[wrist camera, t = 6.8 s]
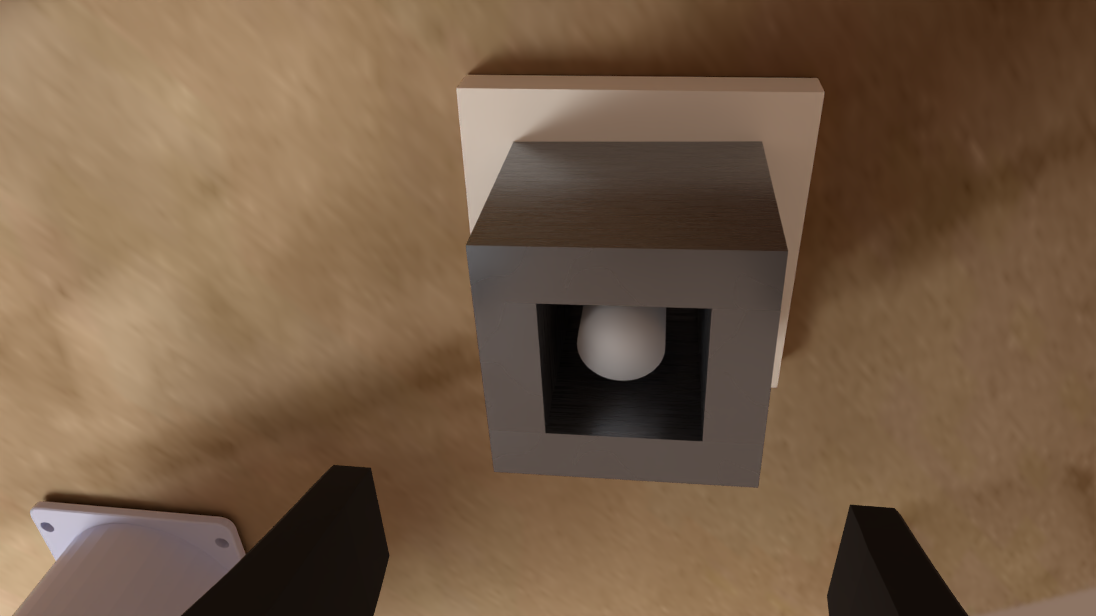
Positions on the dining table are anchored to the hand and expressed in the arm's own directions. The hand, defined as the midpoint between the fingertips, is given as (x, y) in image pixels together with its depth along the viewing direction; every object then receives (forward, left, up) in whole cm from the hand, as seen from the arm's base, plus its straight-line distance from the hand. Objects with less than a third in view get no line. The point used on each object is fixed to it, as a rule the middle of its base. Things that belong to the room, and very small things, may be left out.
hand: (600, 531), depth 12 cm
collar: (0, 0, -9) cm, 9 cm away
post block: (0, 0, -10) cm, 10 cm away
